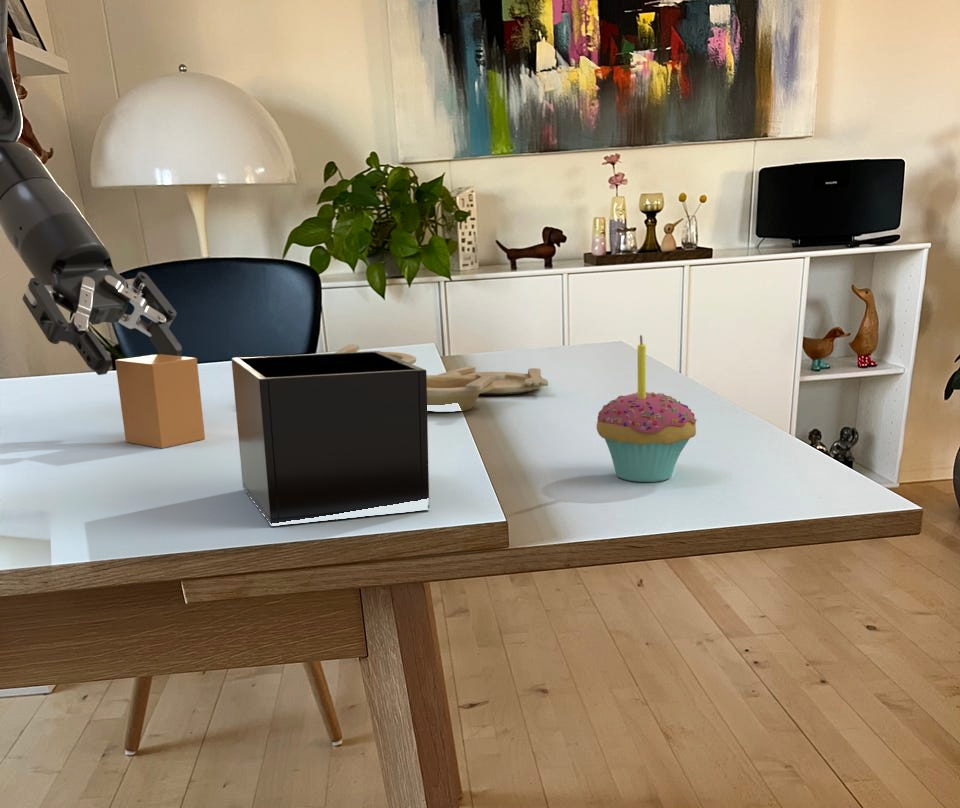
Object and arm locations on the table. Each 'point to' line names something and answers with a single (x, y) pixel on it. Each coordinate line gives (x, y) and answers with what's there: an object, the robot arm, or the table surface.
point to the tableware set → (470, 382)
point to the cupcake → (645, 430)
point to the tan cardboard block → (160, 400)
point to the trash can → (331, 432)
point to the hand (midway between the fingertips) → (142, 364)
